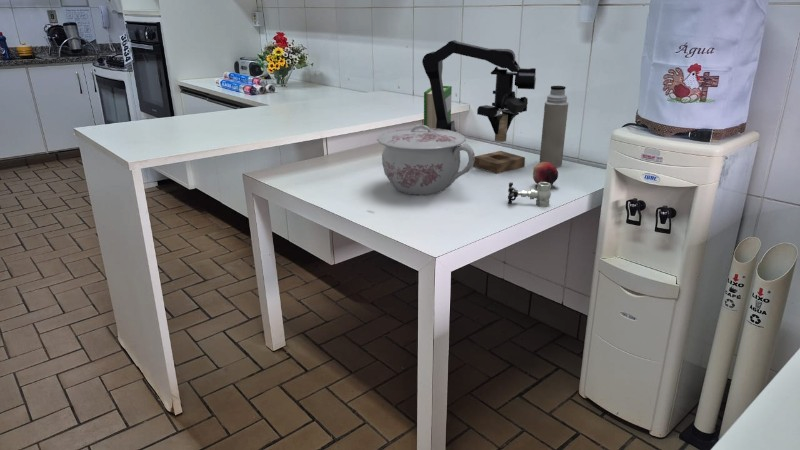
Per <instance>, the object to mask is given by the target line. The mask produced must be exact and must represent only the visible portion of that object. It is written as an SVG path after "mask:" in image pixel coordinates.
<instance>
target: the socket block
mask: <svg viewBox="0 0 800 450" xmlns="http://www.w3.org/2000/svg"><path fill="white" fill-rule="evenodd" d="M525 163H526V157H525V156H521V155H518V154H514V153H510V152H506V151H503V150H498V151H493V152H489V153H485V154H480V155H475V161H474V165H473V166H472V167H475V168H478V169H481V170H483V171H487V172H490V173H492V174H496V175H497V174H500V173H504V172H510V171H513V170H517V169H523V168H525Z"/></svg>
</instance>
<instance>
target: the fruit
mask: <svg viewBox="0 0 800 450" xmlns="http://www.w3.org/2000/svg"><path fill="white" fill-rule="evenodd" d="M532 178H533V181H534V183H535V184H536V185H538V183H539V182H547V183H550V184H551V186H553V184H554V183H555V182H556V181H557V180H558V178H559V171H558V169H557V167H555V166H554V165H553V164H552V163H550V162H541V163H537V164H536V165H534V167H533V172H532Z"/></svg>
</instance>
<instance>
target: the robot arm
mask: <svg viewBox="0 0 800 450" xmlns="http://www.w3.org/2000/svg"><path fill="white" fill-rule="evenodd" d="M452 54H457V55H460V56H465V57H470V58H473V59H478V60H483V61H487V62H489V63H490V64H492V65H493V66H495V67H494V69H493V70H492V71H491V72H490V74H491V75H496V77H495V90H492V94H493V95H494V101H493V102H491V105H487V104H486V105H480V106H478V107H477V109H476V112H477V116H478V115H479V116H483V117H487V119H488V121H489V123H490V125H491V127H492V130H493V133H494V135H495V134H498V130H499V121H500V119H501V118H502V116H501V115H500V114H507V115H508V123H507V132H508V130H509V128H510V126H511V123H512V121H513V120H514V118H515V117H517V116H518V115H519V114H520V113H523V112H527V110H528V103H529V102H528V100H529V99H528V97H526V96H521V97H516V92H515V91H514V90H513V85H514V86H516V87H517V90H518V89H519V90H520V89H521V90H535V89H536V82H537V77H536V73H537V72H536V71H537V68H535V67H532V68H531V67H530V68H523V67H521V66H520V65H519V64H518V62H517V60H516V54H515V52H514V51H513V50H512V49H510V48H488V47H484V46H480V45H475V44H469V43H465V42H460V41H457V40H455V39H453V40H451V41H450V40H449V41H448V42H447V43H446V44H445V45H443V46H442V47H440V48H439V49H437V50H435V51H431V52H428V53H426V54H425V55H424V56H423V57H422V60H421V63H422V67H423V69H424V72H425V74H426V76H427V78H428V80H429V84H430V88H431V90H432V96H433V102H434V107H435V113H436V119H437V122H436V128H440V129H446V130H450V131H454V132H457V130H456V125H455V123H456V122H455V120H452V121H450V119H449V117H448V112H447V107H446V101H445V95H444V89H443V86H444V85H443V77H442V75H443V61H445V60H446V59H447V58H449V57H450V56H451V55H452ZM508 70H509V71H508Z"/></svg>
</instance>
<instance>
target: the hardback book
mask: <svg viewBox="0 0 800 450" xmlns="http://www.w3.org/2000/svg"><path fill="white" fill-rule="evenodd" d="M452 88H453V86H451V85H443V89H444V95H445V101H446V107H447V112H448V117H449V119H450V121H451V120H452V93H453V92H452ZM436 122H437V119H436V113H435V107H434V102H433V96H432V90H431V87H429V88H428V89H427V90H425V91H424V92H423V125H425V126H427V127H429V128H436Z"/></svg>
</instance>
